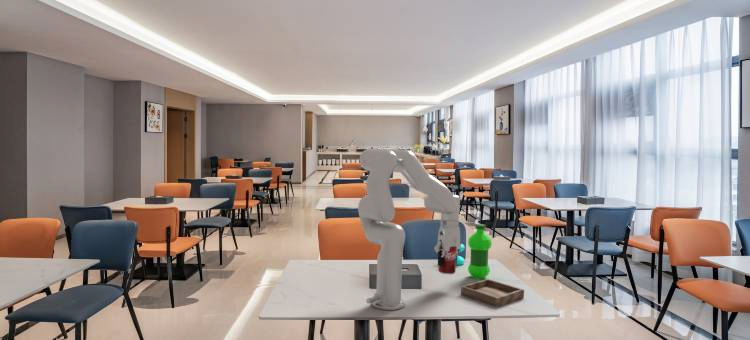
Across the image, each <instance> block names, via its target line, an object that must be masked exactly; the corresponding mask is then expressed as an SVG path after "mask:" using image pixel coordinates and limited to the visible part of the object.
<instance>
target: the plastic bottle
mask: <svg viewBox="0 0 750 340" xmlns="http://www.w3.org/2000/svg"><path fill="white" fill-rule="evenodd" d="M475 229H476V231H475V232H474V233H473V234H471V236H470V237H469V238H468V240H467V244H468V246H469V248H470V263H469V265H468V267H467V271H468V273H469V274H470V276H471V277H472V278H473V279H475V280H485V278H486V277H487V276H488V275H489V274H490V267H489V262H488V261H489V249H491V247H492V239H491V238H490V236H488V235H487V234H486V233H485V232H484V230H486V225H485V224H482V223H476V224H475Z"/></svg>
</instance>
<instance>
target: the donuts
mask: <svg viewBox="0 0 750 340" xmlns="http://www.w3.org/2000/svg"><path fill="white" fill-rule="evenodd" d="M460 244H461V245H462V246H461V248H460V250H459V252H458V253H461V252H463V251H465V244H463V243H460ZM464 263H465V258H464V257H462V256H460V255H457V264H456V266H461V265H464Z"/></svg>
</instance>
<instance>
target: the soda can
mask: <svg viewBox="0 0 750 340" xmlns="http://www.w3.org/2000/svg"><path fill="white" fill-rule="evenodd" d="M441 249H443V248H442V246H441ZM442 252H443V251H441V253H442ZM456 254H457V246H451V247H450V250H449V251H448V252H446V251H445V254H444V257H445V260H444V267H442V266H438V265H437V267H438V268H437V269H438V270H437V271H438V272H439V273H440V274H442V275H454V274H455V273H456V271H457V270H456V269H457V267H456V266H457V265H456Z"/></svg>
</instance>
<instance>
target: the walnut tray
mask: <svg viewBox="0 0 750 340" xmlns="http://www.w3.org/2000/svg"><path fill="white" fill-rule="evenodd" d="M460 295H461V296H463V297H466V298H470V299H472V300H475V301H477V302H481V303H484V304H486V305H489V306H493V307H496V308H500V307H502V306H505V305H508V304H510V303H513V302H517V301H520V300H522V299H524V297H525V289H523V288H520V287H516V286H513V285H510V284H507V283H503V282H499V281H496V280H493V279H489V278H486V279H481V280H479V281H475V282H473V283H468V284H464V285H461V287H460Z"/></svg>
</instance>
